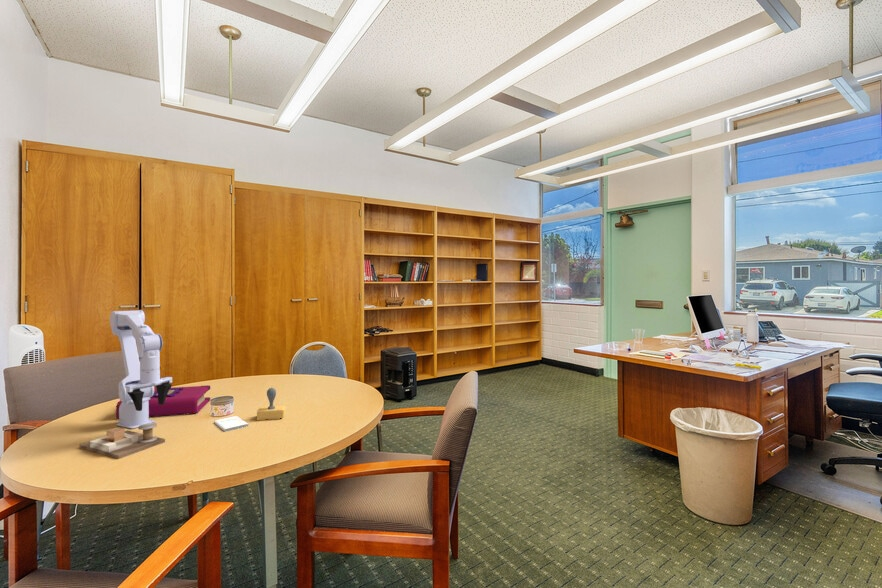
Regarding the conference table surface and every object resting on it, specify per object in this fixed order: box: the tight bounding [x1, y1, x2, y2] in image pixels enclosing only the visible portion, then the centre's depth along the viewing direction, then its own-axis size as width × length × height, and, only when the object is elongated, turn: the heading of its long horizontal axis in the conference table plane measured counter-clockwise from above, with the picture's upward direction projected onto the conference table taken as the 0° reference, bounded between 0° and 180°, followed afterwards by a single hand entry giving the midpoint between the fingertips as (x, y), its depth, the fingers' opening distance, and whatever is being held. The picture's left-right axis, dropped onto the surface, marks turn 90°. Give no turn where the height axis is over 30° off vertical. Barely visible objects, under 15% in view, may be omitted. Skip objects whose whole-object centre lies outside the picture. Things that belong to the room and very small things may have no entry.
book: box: [115, 384, 211, 420], centre depth 170 cm, size 21×28×8 cm
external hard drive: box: [214, 415, 249, 432], centre depth 152 cm, size 2×8×12 cm
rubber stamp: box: [256, 387, 287, 421], centre depth 161 cm, size 10×6×12 cm, turn 103°
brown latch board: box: [78, 422, 166, 459], centre depth 132 cm, size 20×14×6 cm
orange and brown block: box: [106, 427, 126, 442], centre depth 130 cm, size 4×3×5 cm
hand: (150, 407), depth 142 cm, fingers open, 7 cm apart
